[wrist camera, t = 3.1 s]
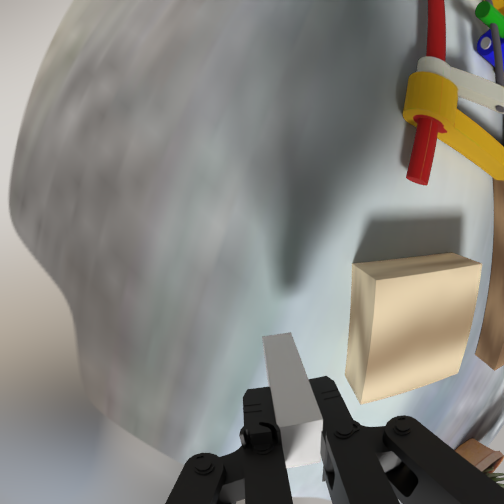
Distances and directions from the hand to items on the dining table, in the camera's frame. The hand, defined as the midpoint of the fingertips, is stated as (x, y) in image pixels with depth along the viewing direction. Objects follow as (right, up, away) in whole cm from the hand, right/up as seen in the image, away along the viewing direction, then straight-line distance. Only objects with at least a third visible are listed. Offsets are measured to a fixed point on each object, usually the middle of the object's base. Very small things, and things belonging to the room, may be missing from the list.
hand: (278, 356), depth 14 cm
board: (+21, +4, +4) cm, 22 cm away
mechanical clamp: (+20, +22, 0) cm, 30 cm away
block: (+10, +1, +5) cm, 11 cm away
